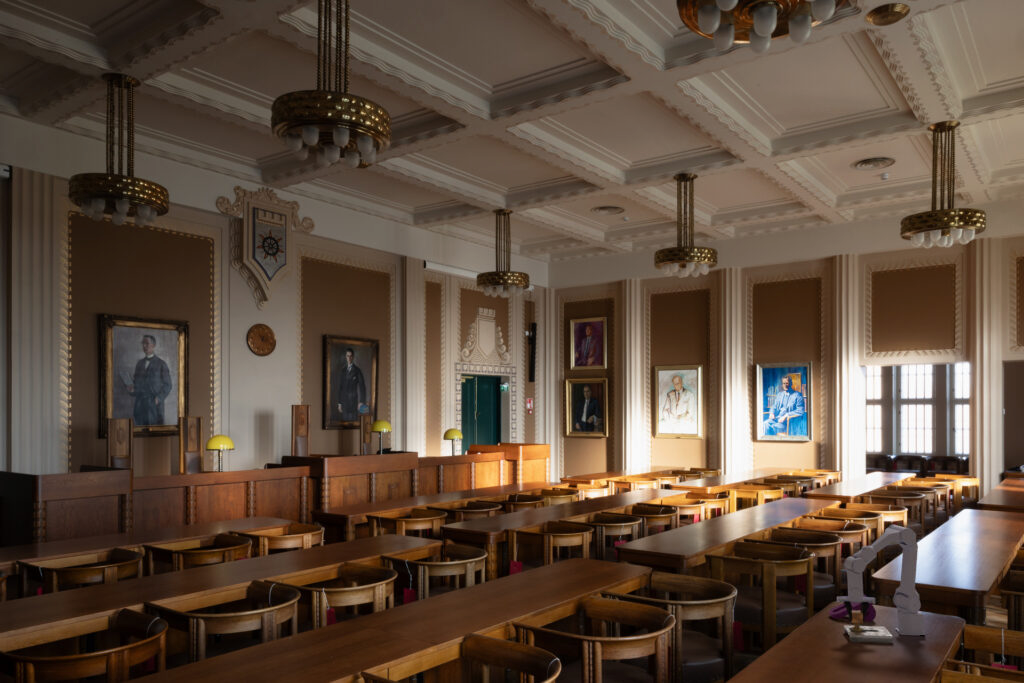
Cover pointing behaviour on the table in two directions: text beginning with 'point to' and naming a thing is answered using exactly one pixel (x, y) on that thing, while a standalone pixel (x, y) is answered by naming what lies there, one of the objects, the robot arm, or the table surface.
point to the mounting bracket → (842, 611)
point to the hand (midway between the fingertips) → (856, 620)
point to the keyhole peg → (857, 620)
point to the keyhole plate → (869, 634)
